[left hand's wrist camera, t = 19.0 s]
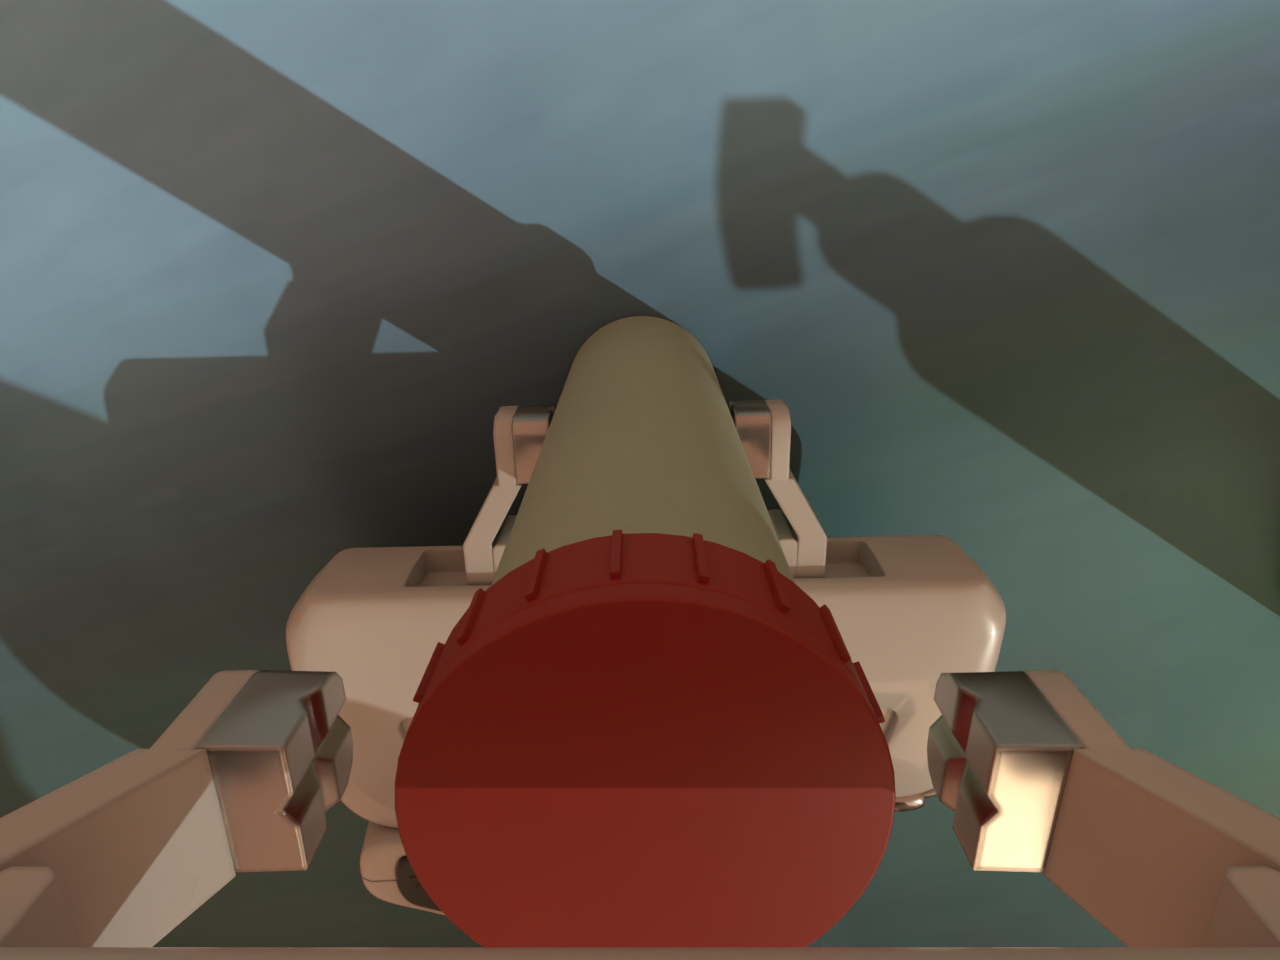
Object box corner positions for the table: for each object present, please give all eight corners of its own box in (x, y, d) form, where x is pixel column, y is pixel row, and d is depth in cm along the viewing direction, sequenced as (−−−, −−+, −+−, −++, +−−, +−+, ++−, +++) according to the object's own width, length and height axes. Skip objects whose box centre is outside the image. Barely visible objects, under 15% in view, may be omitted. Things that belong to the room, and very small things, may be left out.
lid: (939, 599, 10) (994, 676, 8) (773, 928, 12) (792, 1039, 10) (483, 467, 9) (450, 526, 8) (387, 838, 11) (347, 942, 10)
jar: (732, 434, 27) (893, 878, 10) (596, 476, 28) (525, 967, 11) (690, 294, 26) (796, 538, 8) (547, 342, 26) (364, 665, 9)
